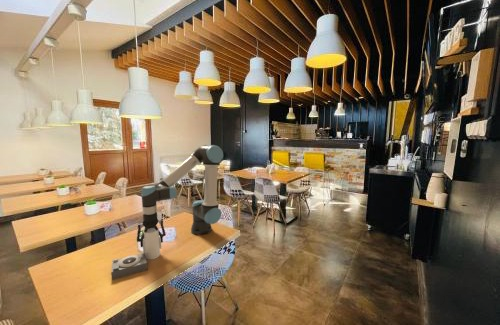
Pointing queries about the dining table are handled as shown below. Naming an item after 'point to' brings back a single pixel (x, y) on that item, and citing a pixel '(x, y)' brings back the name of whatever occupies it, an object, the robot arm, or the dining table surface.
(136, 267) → the camera body
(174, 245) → the dining table surface
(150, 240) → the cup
